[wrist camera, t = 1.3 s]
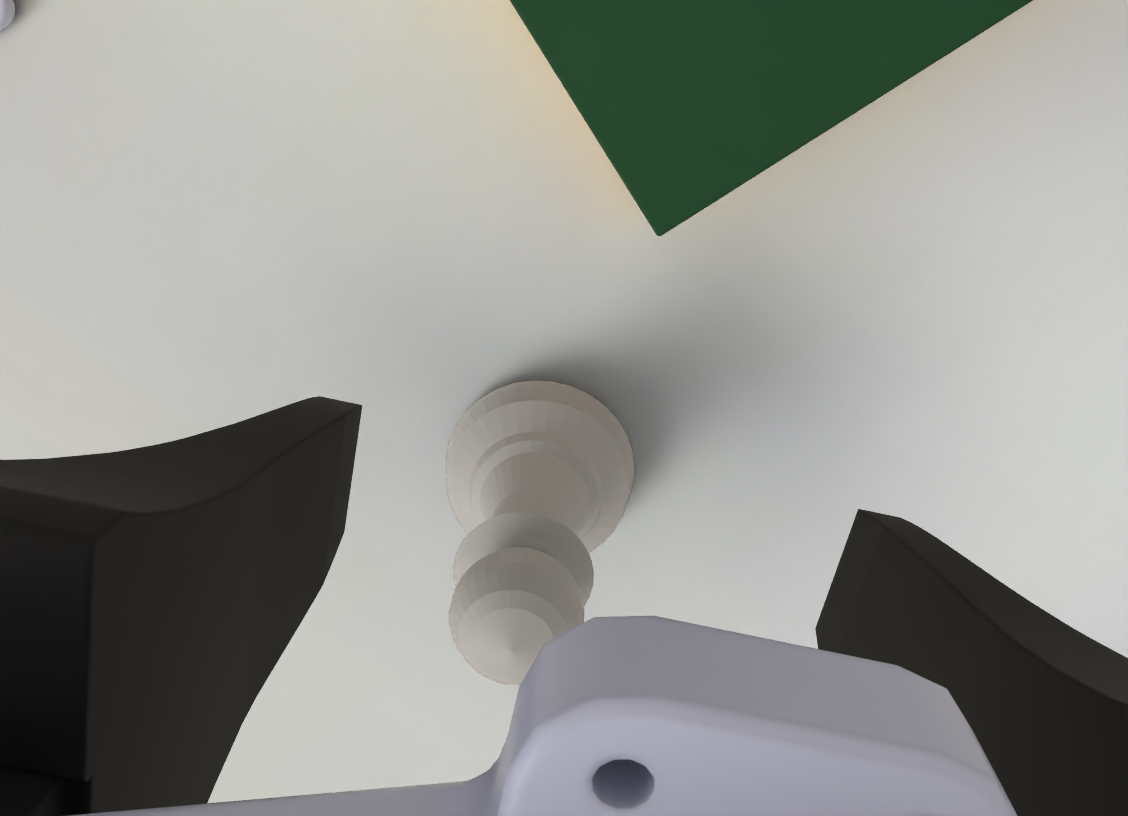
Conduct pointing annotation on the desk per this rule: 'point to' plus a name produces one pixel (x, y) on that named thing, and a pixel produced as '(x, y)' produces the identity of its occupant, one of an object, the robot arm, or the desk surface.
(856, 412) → the desk surface
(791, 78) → the sponge
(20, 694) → the robot arm
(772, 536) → the desk surface
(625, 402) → the desk surface
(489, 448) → the chess piece
